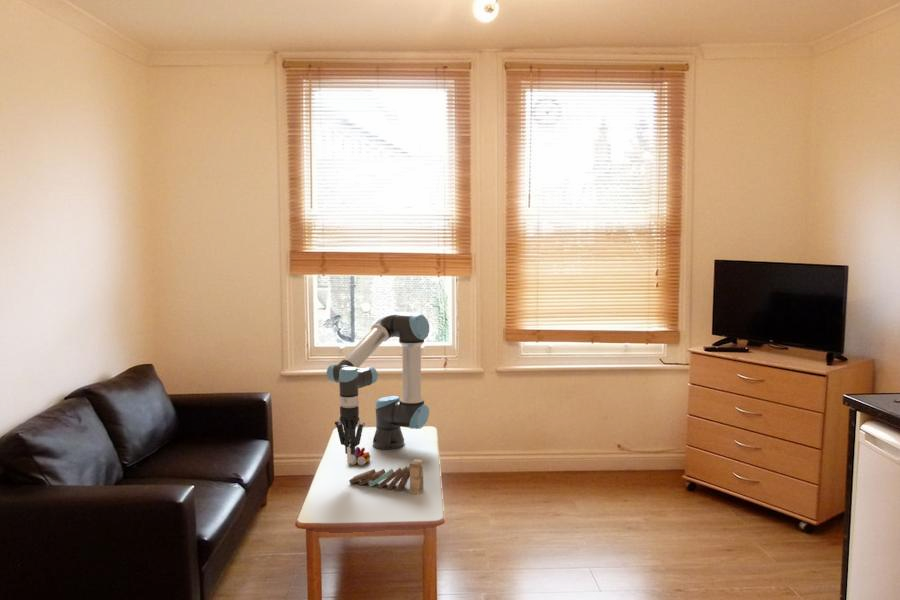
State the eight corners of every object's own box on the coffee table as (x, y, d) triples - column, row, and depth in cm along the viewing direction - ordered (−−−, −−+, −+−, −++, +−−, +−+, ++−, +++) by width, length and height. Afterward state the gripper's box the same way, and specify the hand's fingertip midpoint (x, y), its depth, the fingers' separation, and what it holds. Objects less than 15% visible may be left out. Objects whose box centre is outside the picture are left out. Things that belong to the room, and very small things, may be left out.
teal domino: (368, 483, 246) (386, 473, 242) (374, 479, 250) (392, 468, 247) (370, 487, 246) (388, 476, 242) (375, 482, 250) (394, 472, 247)
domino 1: (349, 480, 249) (368, 473, 245) (355, 476, 253) (374, 468, 250) (350, 484, 249) (370, 476, 245) (356, 479, 253) (375, 472, 250)
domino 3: (377, 485, 244) (394, 471, 241) (383, 480, 249) (400, 467, 246) (380, 488, 244) (397, 475, 241) (385, 483, 249) (402, 470, 246)
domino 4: (386, 487, 243) (401, 470, 240) (392, 482, 248) (406, 465, 245) (389, 490, 243) (404, 473, 240) (395, 485, 247) (409, 468, 244)
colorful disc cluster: (366, 467, 267) (366, 451, 267) (345, 465, 269) (345, 449, 269) (372, 460, 276) (372, 444, 275) (352, 458, 278) (352, 443, 277)
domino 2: (358, 482, 247) (378, 473, 244) (364, 477, 252) (383, 468, 248) (360, 485, 247) (379, 476, 244) (366, 481, 252) (385, 472, 248)
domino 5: (396, 489, 242) (406, 468, 239) (401, 484, 246) (411, 464, 244) (399, 491, 241) (409, 471, 239) (404, 486, 246) (414, 466, 243)
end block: (415, 488, 244) (414, 459, 243) (423, 489, 243) (422, 460, 242) (410, 493, 240) (409, 463, 238) (418, 494, 238) (417, 464, 237)
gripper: (330, 406, 247) (331, 463, 249) (359, 409, 242) (360, 466, 245) (339, 401, 254) (341, 456, 256) (367, 404, 249) (369, 460, 252)
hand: (350, 461), depth 251 cm, fingers closed
